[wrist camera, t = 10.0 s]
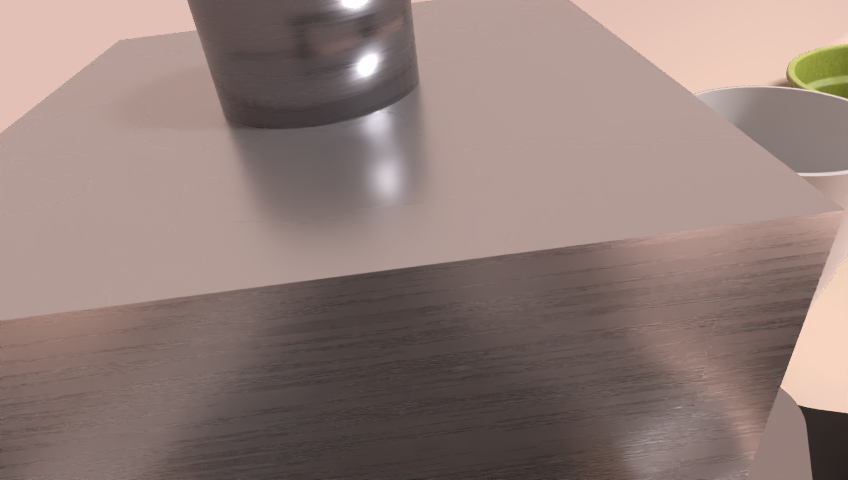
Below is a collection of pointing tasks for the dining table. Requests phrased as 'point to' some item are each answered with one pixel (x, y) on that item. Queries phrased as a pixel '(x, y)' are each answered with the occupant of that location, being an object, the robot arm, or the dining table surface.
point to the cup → (797, 142)
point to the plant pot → (821, 70)
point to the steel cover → (393, 255)
